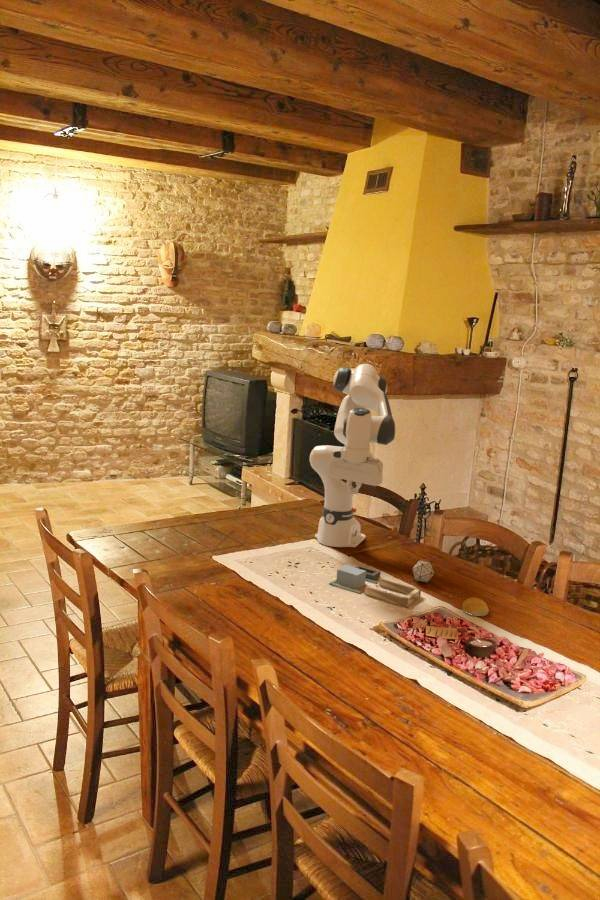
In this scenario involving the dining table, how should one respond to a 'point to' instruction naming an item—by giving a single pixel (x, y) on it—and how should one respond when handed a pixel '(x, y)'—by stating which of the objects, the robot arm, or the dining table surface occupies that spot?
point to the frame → (349, 588)
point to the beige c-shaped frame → (404, 601)
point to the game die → (423, 571)
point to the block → (351, 576)
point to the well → (370, 572)
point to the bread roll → (475, 607)
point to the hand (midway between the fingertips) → (353, 493)
